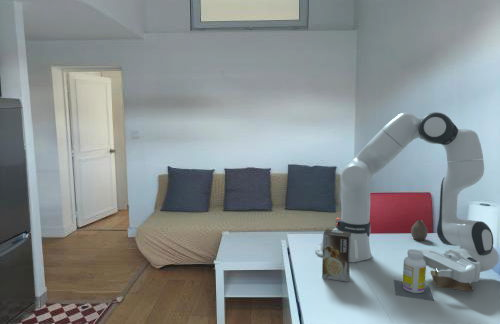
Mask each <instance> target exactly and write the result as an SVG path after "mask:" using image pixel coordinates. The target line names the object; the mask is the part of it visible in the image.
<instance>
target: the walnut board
mask: <svg viewBox="0 0 500 324" xmlns="http://www.w3.org/2000/svg"><path fill="white" fill-rule="evenodd" d="M430 275H431V279H432V280H433V283H434V286H435V287H438V288H446V289H453V290H461V291H466V292H468V291H469V292H473V291H474V287H473V286H472V285H471V282H470V283H462V282H459V281H457V280H455V279H453V278H451V277H445V276H440V277H439V276H437V275H435V270H430Z"/></svg>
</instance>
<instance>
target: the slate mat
mask: <svg viewBox="0 0 500 324" xmlns="http://www.w3.org/2000/svg"><path fill="white" fill-rule="evenodd" d="M393 281H394V282H393V283H394V288H395V289H394V290H395V295H396V296H400V297H406V298H413V299H420V300H421V299H422V300H427V301H435V298H434V295H433V292H432V289H431V287H430V284H427V283H425V289H424V292H422V293H411V292H408V291H406V290H405V289H404V288H403V280H397V279H393Z"/></svg>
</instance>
